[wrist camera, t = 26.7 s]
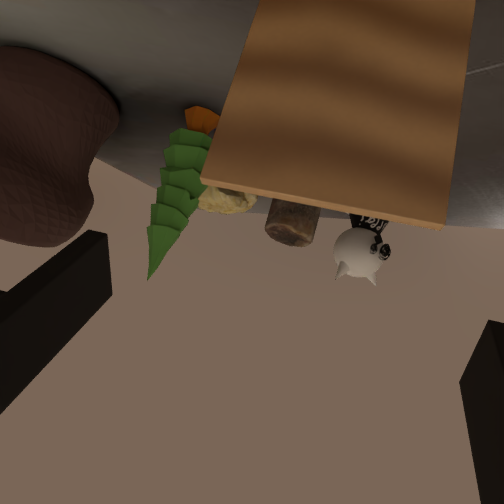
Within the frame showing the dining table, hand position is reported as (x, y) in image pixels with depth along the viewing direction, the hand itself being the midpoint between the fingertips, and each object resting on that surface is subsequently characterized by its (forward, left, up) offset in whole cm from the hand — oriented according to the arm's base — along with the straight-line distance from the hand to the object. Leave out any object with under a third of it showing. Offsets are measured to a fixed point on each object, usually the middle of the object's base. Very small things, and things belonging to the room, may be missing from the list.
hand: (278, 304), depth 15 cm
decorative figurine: (+55, +40, -36) cm, 77 cm away
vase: (+71, -21, -36) cm, 82 cm away
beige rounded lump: (+75, +16, -36) cm, 84 cm away
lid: (+8, +4, -15) cm, 18 cm away
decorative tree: (+57, +5, -36) cm, 67 cm away
